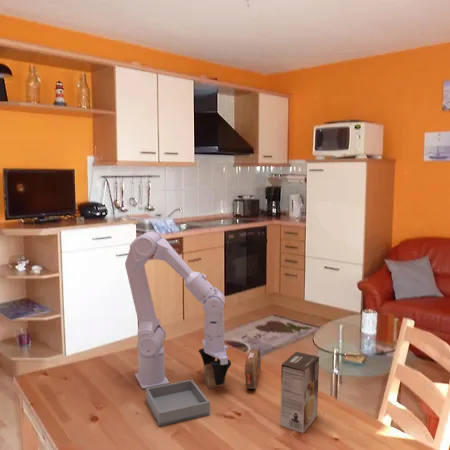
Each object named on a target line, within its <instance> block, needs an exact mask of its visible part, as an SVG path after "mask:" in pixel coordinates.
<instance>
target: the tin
mask: <svg viewBox="0 0 450 450" xmlns="http://www.w3.org/2000/svg"><path fill="white" fill-rule="evenodd" d="M260 374H261V351H260V349H259V348H255V349H254V348H253V349H250V350H249V351H248V354H247V357H246V359H245V365H244V375H245V387H246V389H248V390H249V389H251V390H252V389H253V390H256V389H257V386H258V383H259V380H260V376H261V375H260Z"/></svg>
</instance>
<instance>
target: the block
mask: <svg viewBox="0 0 450 450" xmlns="http://www.w3.org/2000/svg"><path fill="white" fill-rule="evenodd" d="M203 384H204V385H205V386H206V387H207V389H208V390H209V389H214V388H220V387H224V386H226V379H225V380H224V383H223V384H221V385H216V383H215V377H214V371H213V368H212V365H211V364H207V365H204V364H203Z"/></svg>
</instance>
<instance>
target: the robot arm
mask: <svg viewBox="0 0 450 450" xmlns="http://www.w3.org/2000/svg"><path fill="white" fill-rule="evenodd" d="M152 255H153V257H152ZM151 257H152V260H157V261H158V260H159V261H165V262H166V263H167V264H168V265H169V267H170V268H172V269H173V270H174V271H175V272H176V273H177V274H178V275H179V276H180V277H181V278H182V279H184V286H185V289H187V290H188V291H189V292H190V293H191V295H192V296H194V298H195V299H196V300H197V301H198V302H199V303H201V304H202V310H203V312H204V339H202V340H201V341H202V342H201V345H202V348H200V349H198V353H199V355H200V356H201V359H202V362H203V366H204V365H207V364H211V365H212V368H213V371H214V377H215V383H216V385H221V384H223V383H224V380H225V381H226V375H227V373H228V371H229V368H230V366H231V365H232V361H231V360H230V359H229V357H228V356H227V352H226V351H227V350H229V346H228V345H227V344H225V324H226V323H225V321H226V320H225V311H224V310H225V304H226V297H225V295H224V293H223V291H221V290H219V289H218V287H216V286H215V287H214V286H213V285H212V284H211V283H210V282H209V280H208V279H207V275H206V274H205V273H201V272H199V271H194V270H193V269H191V267H190V266H189V265H188V264H187V262H186V261H184V258H182V257H181V256H180V255H179V253H178V252H177V251H176V250H175V249H174V248H173V246H172V245H171V244H170V242H169V241H168V240H167V239H166V238H165V237H163V236H162V235H161V234H160V233H159V232H158V231H157V230H147V231H146V232H145V233H143V234H142V235H138V236H137V237H136V238H135V239H134V240H133V241H132V242H131V244H129V250H128V253H127V256H126V260H125V262H124V264H125V265H124V266H125V270H126V275H127V279H128V284H129V288H130V292H131V295H132V300H133V304H134V308H135V312H136V317H137V322H138V325H137V342H136V343H137V344H136V347H137V351H138V353H137V367H138V368H137V369H138V370H137V373H134V375H135V378H136V379H137V382H138V384H139V385H140V388H141V389H145V390H146V389H147V388H152V387H157V386H162V385H167V384H170V381H169V380H168V378H167V376H166V374H165V373H166V372H165V370H166V368H165V364H166V363H165V348H164V345H163V343H164V341H165V340H166V337H167V336H166V335H167V334H166V331H165V329H164V327H163V326H162V325H161V321H160V319H158V316H156V311H155V307H154V302H153V298H152V293H151V289H150V285H149V279H148V276H147V272H146V267H145V265H146V264H147V262H148V261H149V260H150V259H151Z"/></svg>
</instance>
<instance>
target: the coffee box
mask: <svg viewBox="0 0 450 450" xmlns="http://www.w3.org/2000/svg"><path fill="white" fill-rule="evenodd" d="M319 362H320V356H317V355H313V354H309V353H305V352H300V351H295V352H294V353H293V354H291V356H289V357H288V358H287V359H285V361H284V362H283V363H281V382H280V385H281V386H280V426H281V427H284V428H287V429H289V430H291V431H292V430H293V431H296V432H299V433H301V434H304V433H305V432H306V431H307V429H308V428H309V427H310V426H311V425H312V424H313V422H314V421H315V419H317V417H318V407H319V405H318V403H319V401H318V400H319V399H318V398H319V374H320V373H319V368H320V367H319V364H320V363H319Z"/></svg>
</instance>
